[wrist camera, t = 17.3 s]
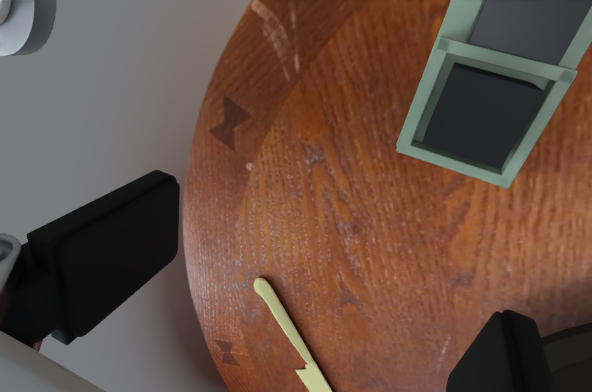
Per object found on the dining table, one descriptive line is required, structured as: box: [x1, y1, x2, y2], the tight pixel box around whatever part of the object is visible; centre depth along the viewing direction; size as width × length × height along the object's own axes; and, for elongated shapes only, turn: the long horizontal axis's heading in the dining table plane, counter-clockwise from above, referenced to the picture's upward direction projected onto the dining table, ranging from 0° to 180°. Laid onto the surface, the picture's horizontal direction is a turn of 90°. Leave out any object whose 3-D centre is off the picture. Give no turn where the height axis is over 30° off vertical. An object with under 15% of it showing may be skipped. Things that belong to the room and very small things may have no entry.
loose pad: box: [422, 62, 545, 169], centre depth 23 cm, size 5×5×4 cm
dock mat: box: [396, 0, 592, 189], centre depth 22 cm, size 8×13×5 cm, turn 167°
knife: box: [254, 278, 332, 392], centre depth 44 cm, size 1×34×5 cm
